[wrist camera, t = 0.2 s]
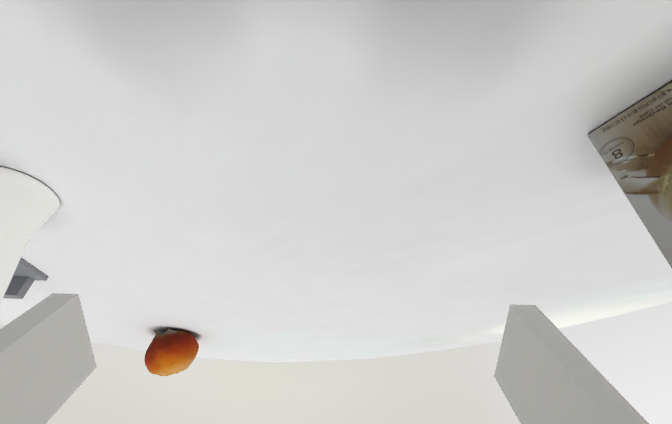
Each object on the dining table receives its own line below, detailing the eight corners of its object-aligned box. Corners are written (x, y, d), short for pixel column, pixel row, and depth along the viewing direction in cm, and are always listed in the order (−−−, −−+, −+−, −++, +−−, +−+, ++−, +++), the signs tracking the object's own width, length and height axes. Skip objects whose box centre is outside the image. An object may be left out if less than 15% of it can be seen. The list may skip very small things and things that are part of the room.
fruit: (153, 327, 53) (163, 380, 51) (199, 315, 59) (209, 362, 57) (131, 337, 57) (139, 386, 55) (176, 324, 63) (185, 368, 62)
